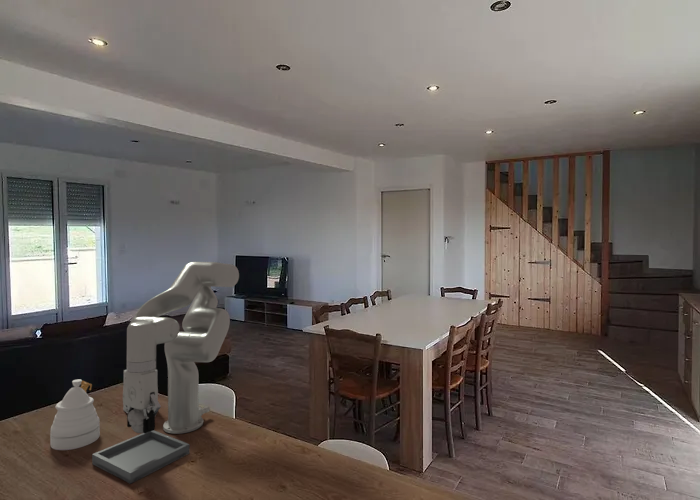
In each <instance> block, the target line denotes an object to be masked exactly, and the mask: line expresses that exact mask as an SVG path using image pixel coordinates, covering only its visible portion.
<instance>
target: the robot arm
mask: <svg viewBox="0 0 700 500" xmlns="http://www.w3.org/2000/svg"><path fill="white" fill-rule="evenodd" d="M239 272H240V271H239V270H238V268H237V266H236V265H234V264H232V263H225V262H224V263H223V262H219V261H218V262H216V261H190V262H189V263H186V264H185V265H184V267H182V269H181V271H180V272H179V274H178V275H177V276H176V278H175V279H174V281H173V282H172V283H171V285H170V286H169V288H168V289H167V290H165V291H163V292H161V293H159V294H156V296H153V297H152V298H150V299H149V300H147V301H146V302H144V303H143V304H142V305H141V306H140V308H138V310H137V311H136V313H135V314H134V315H133V317H132V318H131V321H130V322H129V324H128V326H127V328H126V369H125V370H126V373H125V378H124V377H123V387H122V389H123V390H122V404H123V403H124V404H125V405H126V407H127V409H126V412H127V413H126V412H125V413H126V414H127V415H126V417H127V418H126V426H127V428H131V426H132V425H130V424H129V421H128V414H129V412H130V411H131V410H133V409H134V408H135V409H138V410H143V412H144V416H145V419H143V433H148V432H150V431H153V430H154V431H155V429H156V428H155V427H156V416H157V414H158V412H159V410H161V404H160V402H159V401H158V400H159V389H158V387H159V385H158V374H157V375H156V371H155V370H157V345H160V344H164V354H165V358H166V364H167V377H168V378H167V396H168V397H167V420H166V421H164V423H163V425H162V430H163V431H164V432H165V433H167V434H172V435H176V434H177V435H178V434H181V435H182V434H186V433H191V432H194V431H196V430H198V429H200V428H201V427H202V426H203V425H204V418H203V417H202V416H203V415H204V414H206V413H209V412H210V411H211V407H210V406H207V405H206V406H204V407H202V406H199V400H200V399H199V393H200V392H199V390H200V389H199V384H200V383H199V378H200V377H199V370H198V367H197V365H196V363H210V362H213V361H214V360H215V359H216V358H217V356H218V355H219V352H220V350H221V348H222V345H223V343H224V341H225V338H226V336H227V335H228V331H229V329H230V323H231V321H230V319H231V318H230V317H231V316H230V314H229V312H228V311H227V310H226V309H223V308H220V307H219V308H218V307H217V306H218V303H219V302H218V301H219V300H218V298H217V295H216V294H215V292H214V291H213V289H212V287H213V288H214V287H216V288H217V287H219V288H233V287H234V286H236V284H238V282H239V279H240V273H239ZM188 306H189V308H188V310H187V311H186V314H185V315H184V317H183V320H182V323H181V324H182V325H181V326H182V329H183V331H180V323H179V322H178V321H177V320H176V319H174V318H172V317H167V316H166V317H164V316H163V315H165V314H168V313H170V312H174V311H177V310H181V309H183V308H186V307H188ZM148 404H149V405H150V406H148ZM147 406H148V407H147ZM149 408H150V409H151V410H150V412H149V413H148V410H147V409H149Z"/></svg>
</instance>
